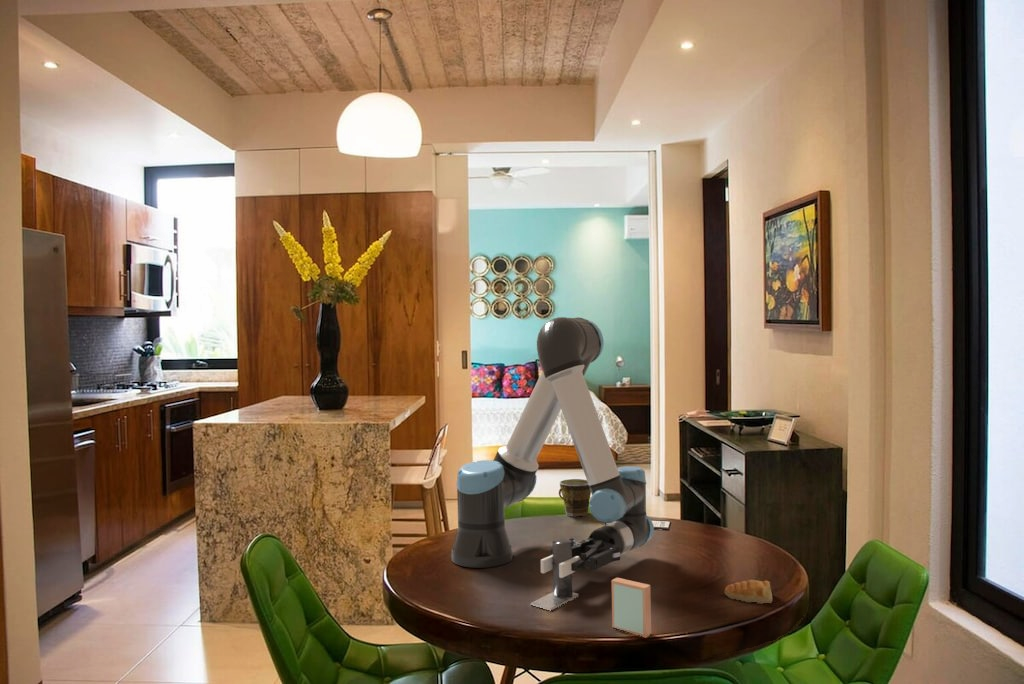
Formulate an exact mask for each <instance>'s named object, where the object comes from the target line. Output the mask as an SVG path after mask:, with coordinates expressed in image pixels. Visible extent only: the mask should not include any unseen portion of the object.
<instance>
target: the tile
mask: <svg viewBox="0 0 1024 684" xmlns="http://www.w3.org/2000/svg"><path fill="white" fill-rule="evenodd" d="M651 604H652V602H651V584H648V583H643V582H639V581H635V580H634V581H633V580H629V579H625V578H621V577H615V578H613V579H612V580H611V620H612V623H611V627H614V628H617V629H620V630H624V631H627V632H630V633H633V634H632V635H634V634H636V635H635V636H638V635H640V636H639V637H641V636H642V638H645V639H647V638H648V637H650V636H651V635H652V608H651V606H652V605H651ZM620 630H619V631H620ZM627 632H626V633H627ZM630 633H629V634H630ZM650 634H651V635H650Z"/></svg>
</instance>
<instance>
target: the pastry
mask: <svg viewBox="0 0 1024 684" xmlns="http://www.w3.org/2000/svg"><path fill="white" fill-rule="evenodd" d="M724 594H725V595H726V597H728V598H729V599H731V600H734V599H736V601H739V600H741V602H744V601H745V602H744V603H751V602H757V603H756V604H763V603H770V604H772V602H773V594H772V589H771V582H770V581H769V580H764V581H763V580H756V579H749V580H746V581H745V580H742V581H739V582H737V581H736V582H735V583H731V584H728V585H726V586H725V589H724Z"/></svg>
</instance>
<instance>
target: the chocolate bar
mask: <svg viewBox="0 0 1024 684" xmlns="http://www.w3.org/2000/svg"><path fill="white" fill-rule="evenodd" d="M650 519H651V518H650ZM651 521H652V523H653V525H654V529H662V530H661V531H667V530H668V531H669V528H670V523H671V519H669V520H668V519H667V520H666V519H665V520H664V519H651ZM614 522H615V521H614ZM604 524H605V523H604ZM605 525H607V524H605Z"/></svg>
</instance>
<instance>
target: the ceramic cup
mask: <svg viewBox="0 0 1024 684" xmlns="http://www.w3.org/2000/svg"><path fill="white" fill-rule="evenodd" d="M559 487H560V488H559V490H558V496H559V498H560V499H562V500H563V506H564V511H565V514H566V516H567V517H570V516H575V517H574V518H577V517H576V516H583V517H585V516H588V514H589V508H590V507H589V506H590V505H589V504H590V499H591V496H592V493H591V490H590V487H589V484H588V482H587V479H583V478H582V479H581V478H572V479H564V480H561V481H560V482H559Z"/></svg>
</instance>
